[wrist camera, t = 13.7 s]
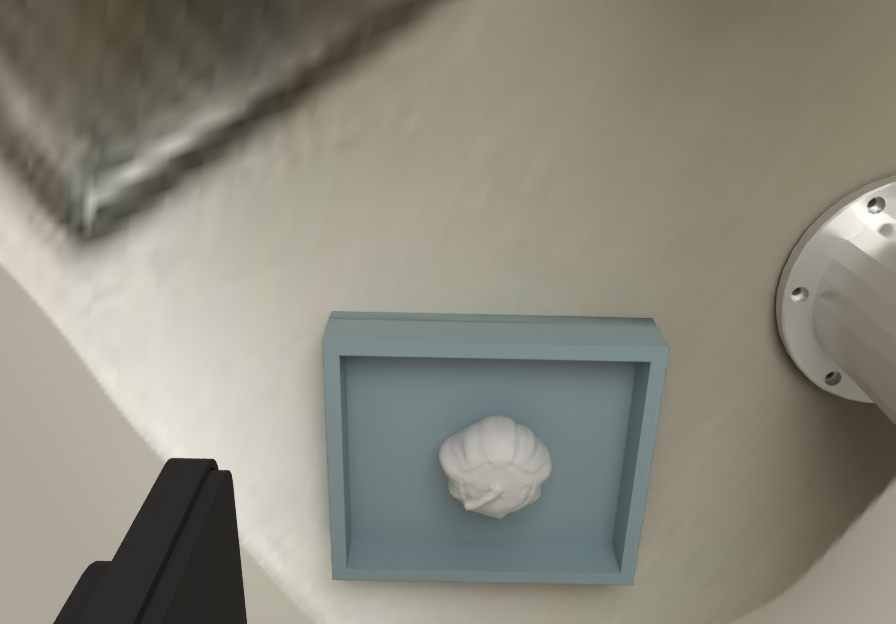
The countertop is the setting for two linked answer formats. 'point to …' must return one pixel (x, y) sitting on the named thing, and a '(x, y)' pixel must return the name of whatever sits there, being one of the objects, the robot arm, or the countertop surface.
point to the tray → (468, 401)
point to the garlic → (495, 466)
